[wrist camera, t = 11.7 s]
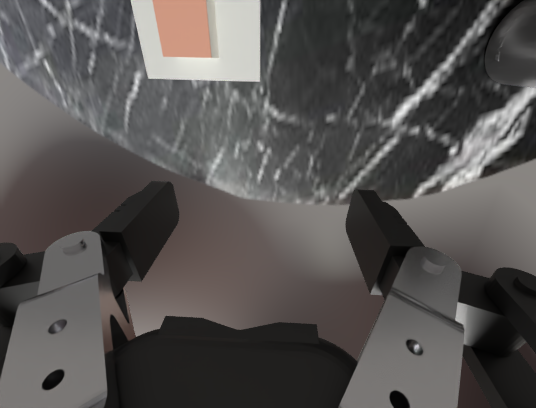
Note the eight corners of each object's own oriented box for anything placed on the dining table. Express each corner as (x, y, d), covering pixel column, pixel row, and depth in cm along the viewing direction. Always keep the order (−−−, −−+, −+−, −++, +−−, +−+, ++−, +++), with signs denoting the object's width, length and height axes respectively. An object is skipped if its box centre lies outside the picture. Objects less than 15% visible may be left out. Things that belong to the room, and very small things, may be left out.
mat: (260, -89, 23) (260, -92, 22) (260, 81, 31) (259, 81, 30) (113, -90, 23) (109, -94, 23) (150, 78, 31) (148, 78, 31)
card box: (158, -57, 24) (138, -76, 21) (210, -56, 24) (198, -75, 20) (176, 57, 29) (163, 56, 26) (219, 58, 29) (211, 57, 26)
